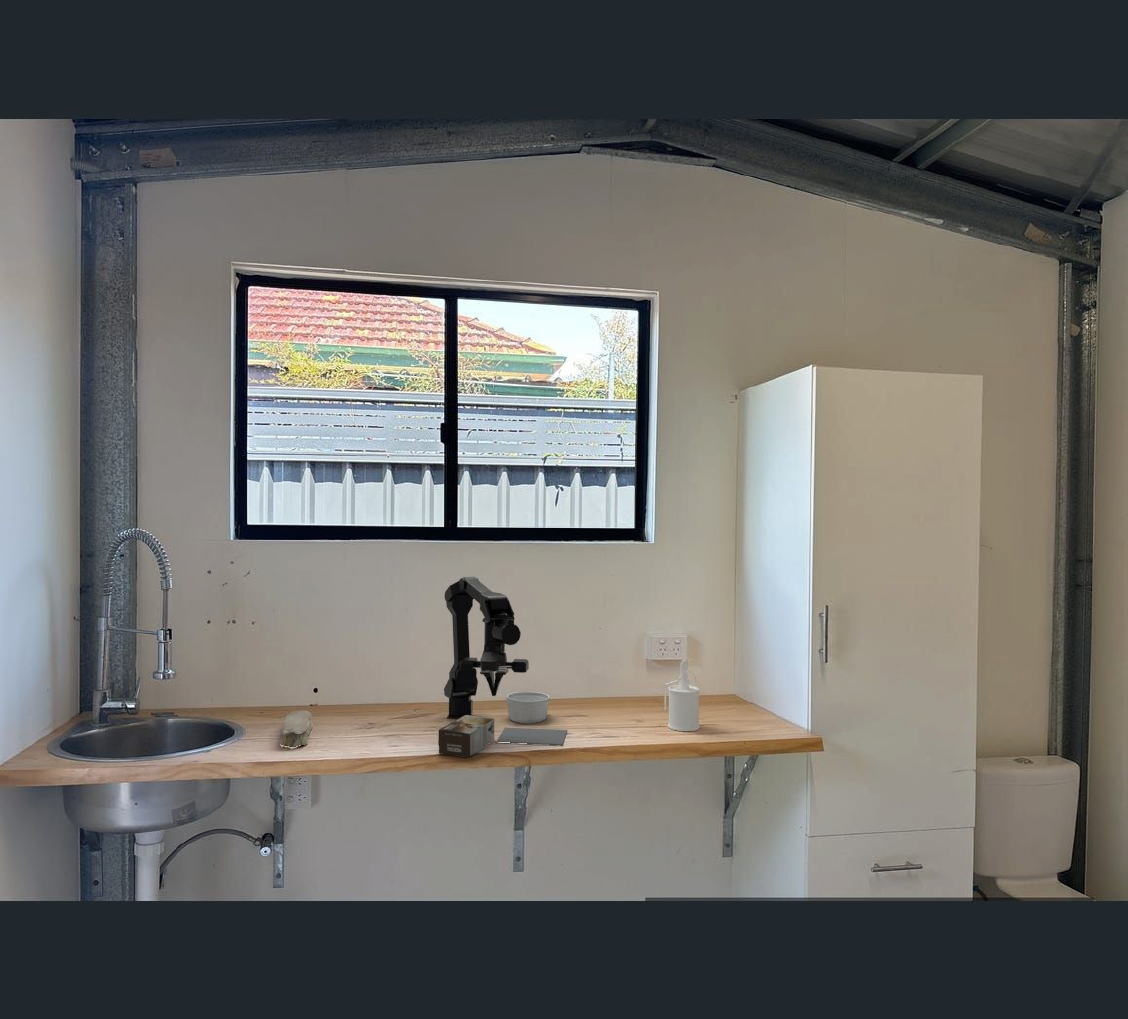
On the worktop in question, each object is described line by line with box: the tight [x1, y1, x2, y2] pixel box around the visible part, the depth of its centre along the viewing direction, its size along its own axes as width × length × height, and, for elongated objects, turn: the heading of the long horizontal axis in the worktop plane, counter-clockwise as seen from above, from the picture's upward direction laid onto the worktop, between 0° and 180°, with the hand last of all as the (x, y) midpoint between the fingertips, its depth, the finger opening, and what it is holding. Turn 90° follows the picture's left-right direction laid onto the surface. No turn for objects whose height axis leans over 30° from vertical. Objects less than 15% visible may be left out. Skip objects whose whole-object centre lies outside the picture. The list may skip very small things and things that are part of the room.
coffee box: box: [437, 715, 496, 759], centre depth 206 cm, size 9×6×16 cm
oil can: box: [663, 658, 701, 733], centre depth 228 cm, size 10×9×20 cm
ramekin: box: [505, 691, 551, 724], centre depth 235 cm, size 13×13×7 cm
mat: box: [495, 727, 568, 746], centre depth 216 cm, size 18×14×1 cm
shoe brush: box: [279, 710, 314, 747], centre depth 214 cm, size 24×8×5 cm, turn 14°
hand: (493, 695), depth 217 cm, fingers closed
